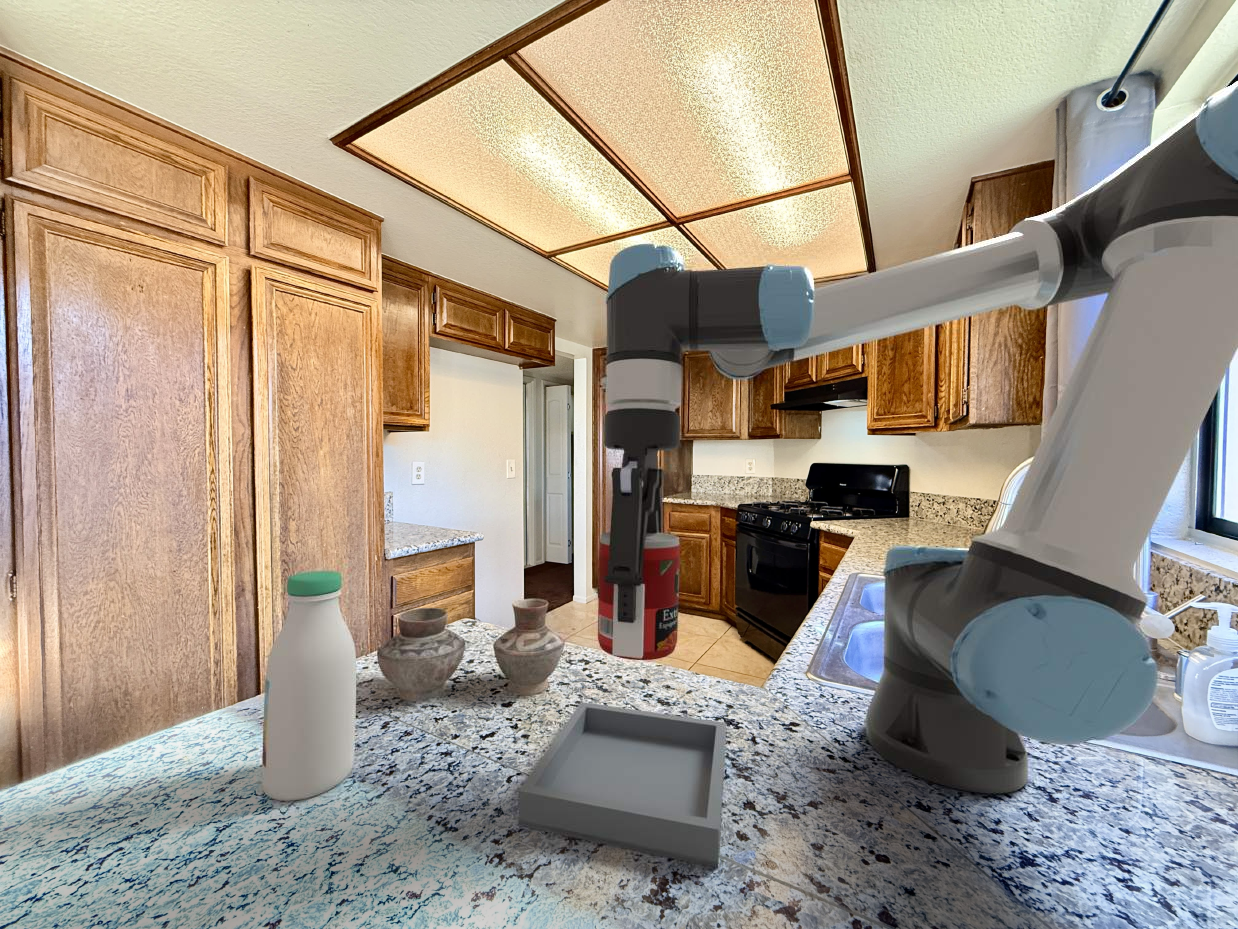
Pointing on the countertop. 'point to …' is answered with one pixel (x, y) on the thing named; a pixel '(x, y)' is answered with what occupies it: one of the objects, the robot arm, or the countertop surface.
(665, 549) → the canned food
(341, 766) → the milk bottle
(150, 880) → the countertop surface
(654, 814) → the tray
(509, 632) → the pottery
